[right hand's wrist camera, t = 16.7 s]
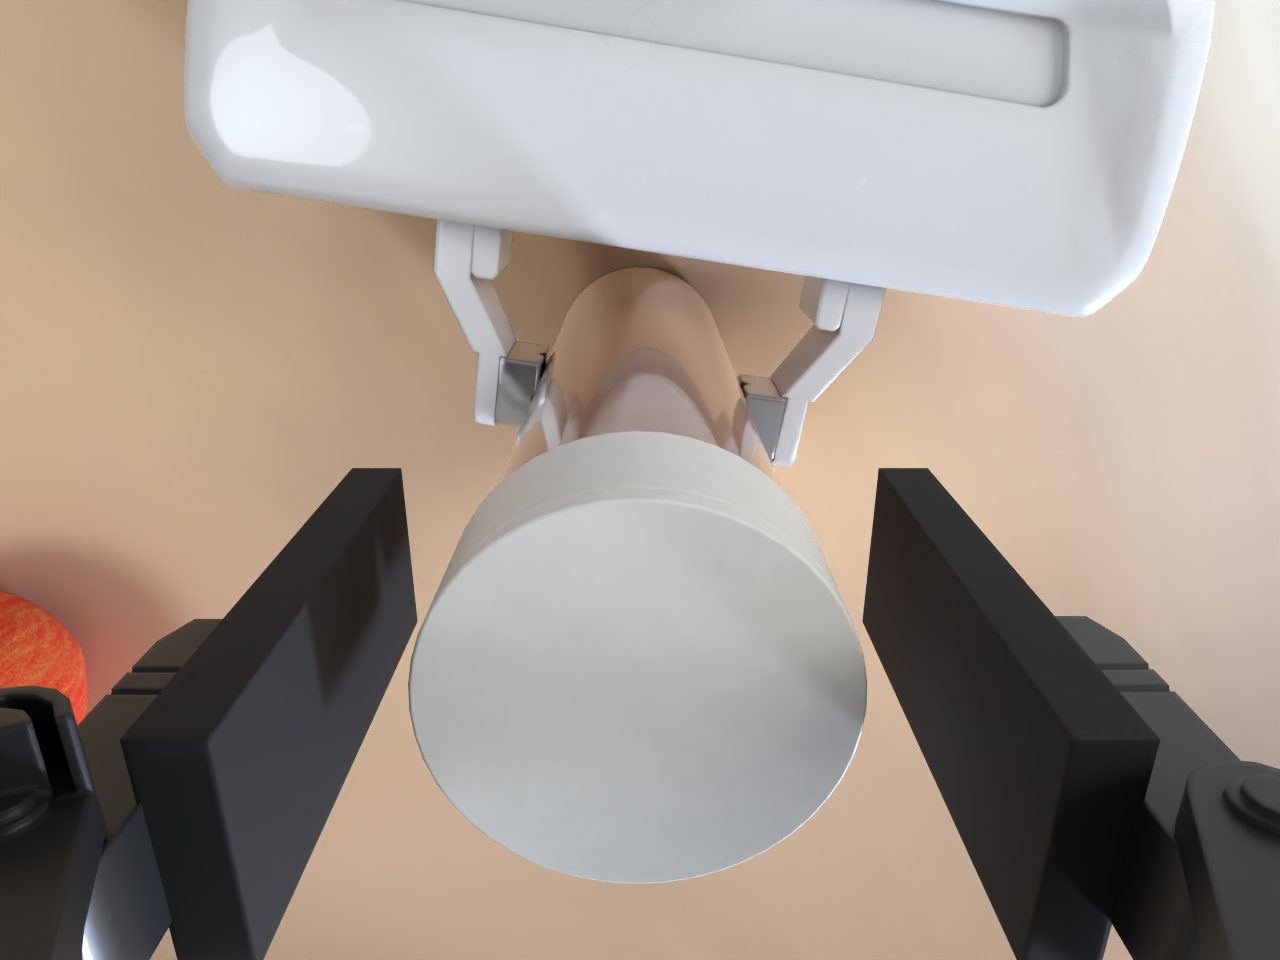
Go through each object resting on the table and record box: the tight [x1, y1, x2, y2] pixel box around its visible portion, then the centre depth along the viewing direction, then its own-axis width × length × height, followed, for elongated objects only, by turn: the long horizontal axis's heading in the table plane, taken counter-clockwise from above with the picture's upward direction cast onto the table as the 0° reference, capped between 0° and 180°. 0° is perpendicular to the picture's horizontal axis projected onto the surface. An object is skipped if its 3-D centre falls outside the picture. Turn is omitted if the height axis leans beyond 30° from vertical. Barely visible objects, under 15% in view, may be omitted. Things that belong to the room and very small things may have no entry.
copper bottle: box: [497, 267, 780, 486], centre depth 19 cm, size 5×5×18 cm
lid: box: [408, 431, 867, 884], centre depth 11 cm, size 5×5×2 cm
